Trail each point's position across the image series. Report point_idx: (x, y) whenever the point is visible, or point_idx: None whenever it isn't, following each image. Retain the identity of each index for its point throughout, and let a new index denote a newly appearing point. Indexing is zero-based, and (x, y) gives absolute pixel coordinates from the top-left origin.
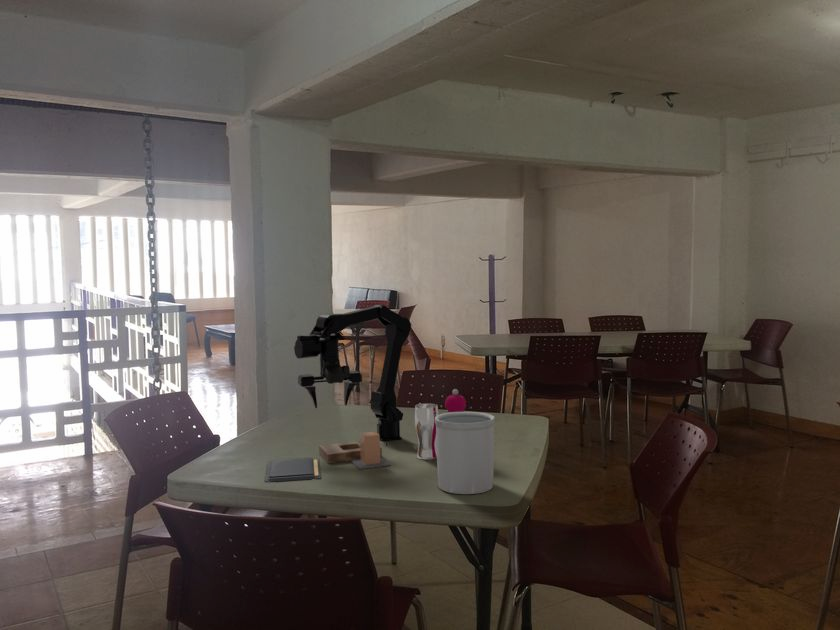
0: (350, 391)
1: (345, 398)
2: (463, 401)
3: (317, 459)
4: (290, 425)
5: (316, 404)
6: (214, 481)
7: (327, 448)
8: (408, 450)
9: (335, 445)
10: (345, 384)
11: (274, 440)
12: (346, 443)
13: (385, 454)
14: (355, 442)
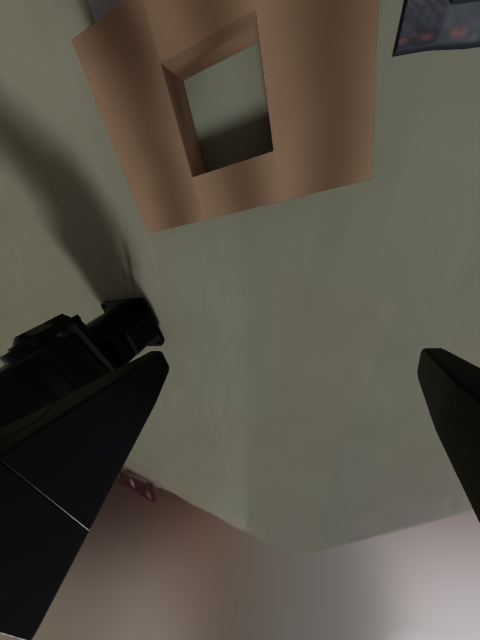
0: (5, 428)
1: (122, 391)
2: None
3: (409, 30)
4: (361, 497)
5: (453, 368)
6: None
7: (341, 83)
8: (50, 165)
9: (287, 159)
10: (15, 576)
11: None
12: (234, 192)
13: None
14: (198, 201)
